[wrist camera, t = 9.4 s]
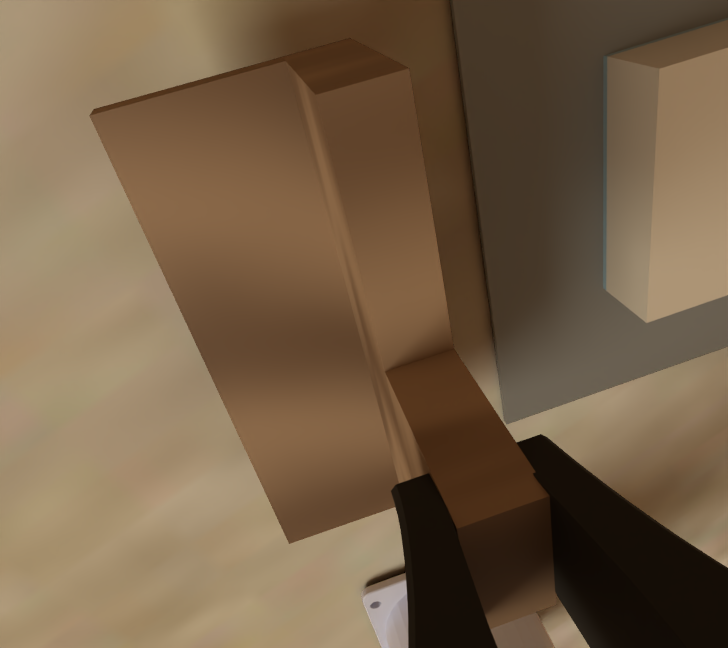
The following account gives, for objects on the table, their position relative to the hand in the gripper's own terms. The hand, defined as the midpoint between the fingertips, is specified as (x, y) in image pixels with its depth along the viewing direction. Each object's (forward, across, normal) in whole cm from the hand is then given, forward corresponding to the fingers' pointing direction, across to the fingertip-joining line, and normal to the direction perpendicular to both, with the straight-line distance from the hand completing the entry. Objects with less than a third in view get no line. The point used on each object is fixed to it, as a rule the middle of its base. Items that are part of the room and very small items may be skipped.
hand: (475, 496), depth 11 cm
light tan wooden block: (+8, -8, 0) cm, 12 cm away
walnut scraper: (+7, +2, 0) cm, 7 cm away
